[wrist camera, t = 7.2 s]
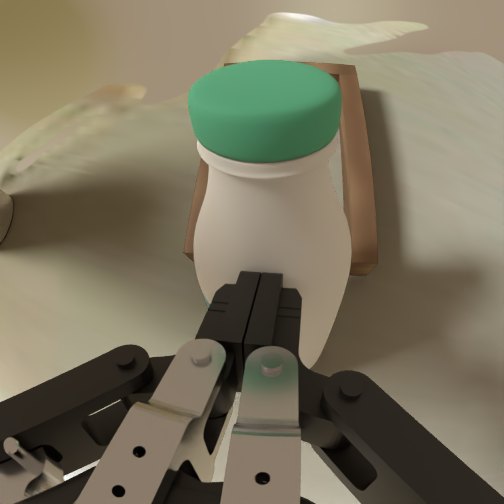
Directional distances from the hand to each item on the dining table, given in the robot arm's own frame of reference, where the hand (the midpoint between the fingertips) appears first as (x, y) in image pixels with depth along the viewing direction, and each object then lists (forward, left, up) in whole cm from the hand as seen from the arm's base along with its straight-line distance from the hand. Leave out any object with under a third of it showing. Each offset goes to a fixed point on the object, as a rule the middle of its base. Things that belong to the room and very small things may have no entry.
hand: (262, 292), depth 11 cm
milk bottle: (0, -1, -14) cm, 14 cm away
